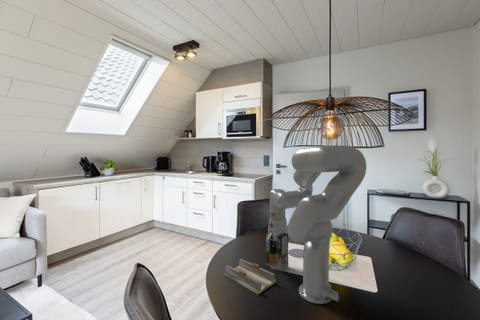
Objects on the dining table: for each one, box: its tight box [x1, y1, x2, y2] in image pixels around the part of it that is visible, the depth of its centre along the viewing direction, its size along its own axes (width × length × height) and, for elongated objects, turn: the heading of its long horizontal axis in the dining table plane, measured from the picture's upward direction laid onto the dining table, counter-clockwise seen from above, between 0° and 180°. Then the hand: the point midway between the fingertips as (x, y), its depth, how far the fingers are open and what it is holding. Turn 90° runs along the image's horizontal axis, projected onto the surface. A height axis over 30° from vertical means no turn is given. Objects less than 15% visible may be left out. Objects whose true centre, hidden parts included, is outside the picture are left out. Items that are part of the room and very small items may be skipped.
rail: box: [223, 258, 277, 295], centre depth 104 cm, size 12×20×5 cm, turn 45°
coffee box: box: [265, 232, 289, 272], centre depth 115 cm, size 9×6×16 cm
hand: (277, 251), depth 115 cm, fingers closed on coffee box, 6 cm apart
